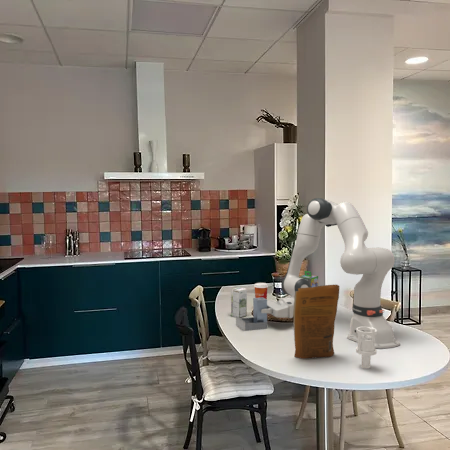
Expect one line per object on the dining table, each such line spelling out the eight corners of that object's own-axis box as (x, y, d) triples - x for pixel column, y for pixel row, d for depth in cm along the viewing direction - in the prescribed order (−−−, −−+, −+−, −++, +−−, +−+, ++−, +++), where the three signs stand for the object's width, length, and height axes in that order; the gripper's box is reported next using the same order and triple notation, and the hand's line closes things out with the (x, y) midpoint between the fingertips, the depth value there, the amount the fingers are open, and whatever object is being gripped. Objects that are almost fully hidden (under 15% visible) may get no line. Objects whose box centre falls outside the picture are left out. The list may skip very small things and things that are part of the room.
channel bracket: (259, 322, 215) (259, 314, 214) (267, 328, 205) (267, 320, 205) (236, 324, 211) (236, 316, 211) (243, 331, 202) (243, 322, 201)
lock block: (268, 324, 208) (268, 299, 207) (257, 325, 206) (257, 300, 206) (264, 321, 213) (263, 297, 212) (253, 322, 211) (253, 298, 210)
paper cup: (251, 309, 240) (251, 284, 239) (259, 306, 245) (259, 282, 244) (262, 311, 234) (262, 286, 233) (271, 309, 240) (271, 283, 239)
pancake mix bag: (342, 357, 168) (343, 285, 166) (295, 361, 164) (295, 287, 162) (335, 351, 174) (335, 282, 172) (289, 355, 171) (289, 284, 169)
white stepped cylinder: (365, 372, 154) (366, 330, 153) (351, 365, 160) (352, 325, 159) (380, 368, 157) (381, 327, 156) (366, 362, 163) (366, 322, 162)
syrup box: (238, 314, 230) (238, 286, 229) (247, 316, 226) (246, 288, 225) (231, 316, 226) (231, 288, 225) (239, 318, 222) (239, 290, 221)
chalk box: (318, 294, 276) (318, 270, 275) (311, 296, 269) (311, 272, 268) (305, 292, 282) (306, 269, 281) (298, 294, 275) (298, 271, 274)
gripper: (276, 295, 223) (250, 297, 219) (294, 305, 203) (266, 308, 199) (276, 308, 223) (250, 310, 219) (294, 318, 204) (266, 321, 199)
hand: (258, 309), depth 209 cm, fingers closed on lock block, 5 cm apart
